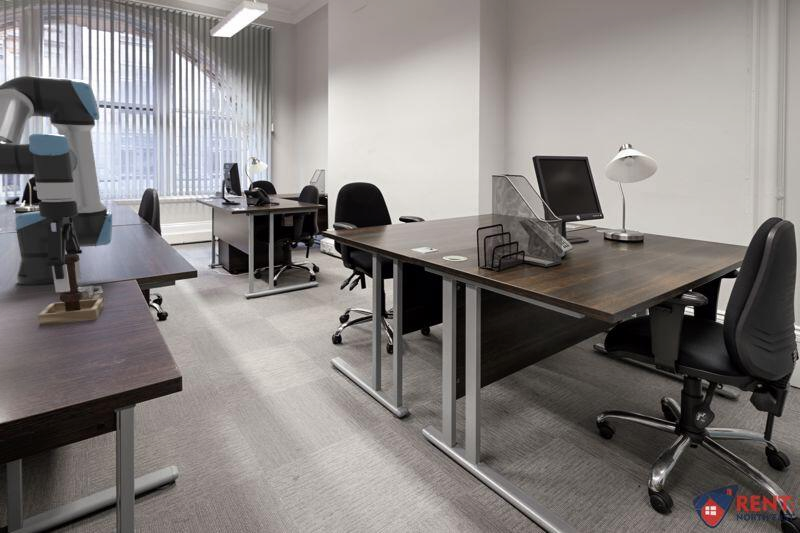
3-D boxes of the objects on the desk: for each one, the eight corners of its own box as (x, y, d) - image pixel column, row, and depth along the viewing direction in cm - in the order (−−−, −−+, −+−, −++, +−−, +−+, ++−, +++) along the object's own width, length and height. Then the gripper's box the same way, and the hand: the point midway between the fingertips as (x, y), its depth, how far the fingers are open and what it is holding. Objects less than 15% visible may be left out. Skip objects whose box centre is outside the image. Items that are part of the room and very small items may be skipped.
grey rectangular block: (79, 298, 131) (77, 286, 130) (94, 297, 133) (93, 284, 132) (74, 304, 125) (72, 291, 125) (90, 303, 127) (88, 290, 126)
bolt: (91, 310, 119) (84, 254, 116) (76, 316, 114) (68, 257, 111) (71, 310, 119) (62, 253, 116) (54, 315, 114) (46, 257, 111)
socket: (62, 301, 129) (61, 292, 129) (110, 297, 134) (109, 288, 133) (39, 325, 109) (38, 315, 109) (96, 319, 114) (95, 309, 113)
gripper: (52, 197, 120) (63, 275, 125) (21, 204, 98) (36, 299, 103) (86, 196, 123) (96, 273, 128) (63, 203, 101) (76, 296, 106)
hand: (69, 285), depth 115 cm, fingers open, 13 cm apart
